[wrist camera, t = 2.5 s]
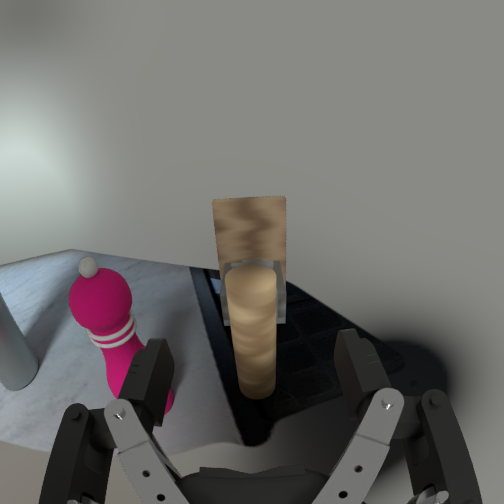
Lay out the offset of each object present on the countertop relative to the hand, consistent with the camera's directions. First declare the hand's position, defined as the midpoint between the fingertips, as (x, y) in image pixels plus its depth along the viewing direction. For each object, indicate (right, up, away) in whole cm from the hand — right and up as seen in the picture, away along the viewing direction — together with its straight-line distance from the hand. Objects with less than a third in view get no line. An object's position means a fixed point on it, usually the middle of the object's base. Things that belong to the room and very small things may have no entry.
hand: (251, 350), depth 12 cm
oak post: (+1, -12, +19) cm, 22 cm away
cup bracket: (+1, -6, +30) cm, 30 cm away
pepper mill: (-12, -14, +16) cm, 25 cm away
